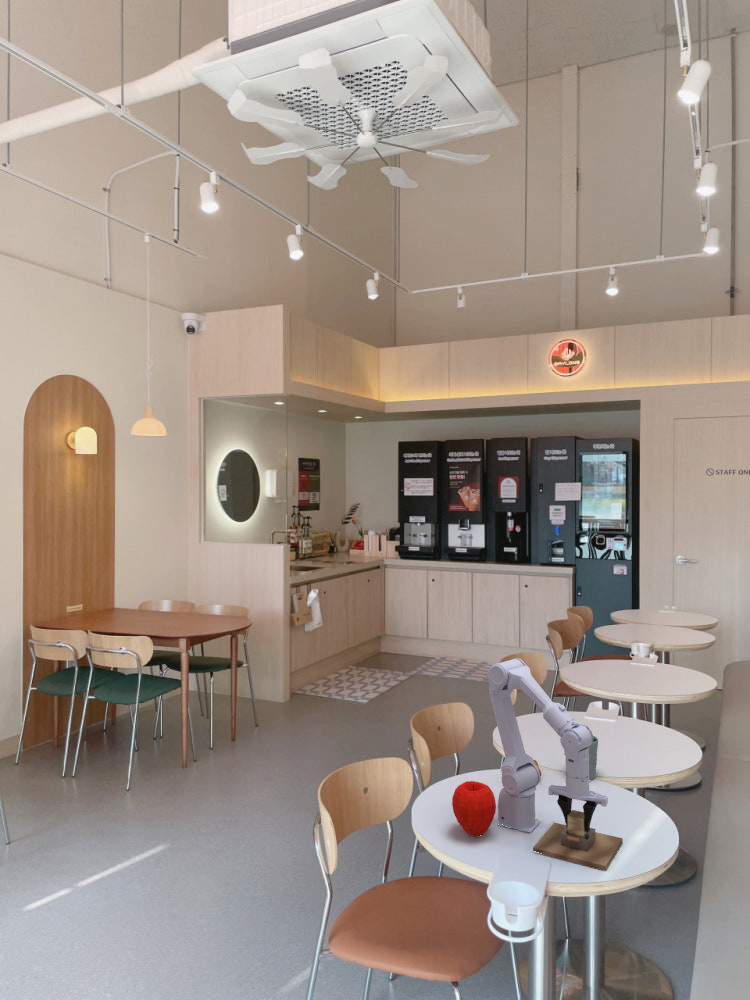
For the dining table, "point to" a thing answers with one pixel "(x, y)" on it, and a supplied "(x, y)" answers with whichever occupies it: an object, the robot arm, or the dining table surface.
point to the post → (576, 823)
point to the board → (595, 857)
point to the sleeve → (578, 840)
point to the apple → (474, 807)
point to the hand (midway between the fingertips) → (578, 827)
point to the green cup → (593, 758)
